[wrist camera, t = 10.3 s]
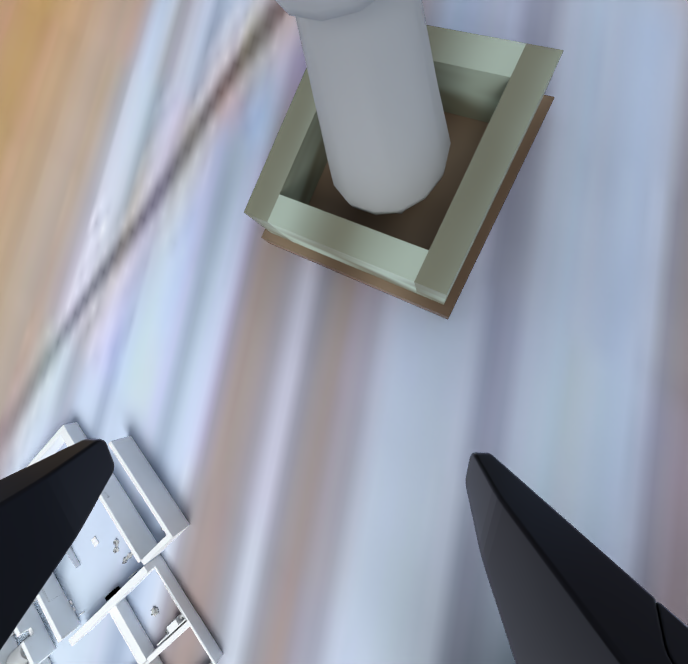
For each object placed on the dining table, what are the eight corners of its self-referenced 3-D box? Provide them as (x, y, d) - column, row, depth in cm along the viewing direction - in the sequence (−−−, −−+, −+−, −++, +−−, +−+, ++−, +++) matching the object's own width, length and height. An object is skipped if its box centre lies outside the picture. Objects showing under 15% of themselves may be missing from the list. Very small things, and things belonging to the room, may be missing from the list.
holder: (547, 111, 17) (581, 40, 13) (447, 319, 18) (452, 310, 14) (347, 64, 20) (328, -4, 16) (269, 243, 21) (232, 218, 17)
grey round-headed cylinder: (367, 249, 18) (223, 15, 5) (325, 165, 19) (121, -197, 6) (467, 193, 17) (575, -270, 4) (418, 107, 18) (387, -479, 5)
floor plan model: (69, 334, 25) (40, 332, 24) (265, 623, 20) (247, 652, 18) (-55, 485, 28) (-90, 494, 26) (87, 777, 23) (55, 816, 21)
